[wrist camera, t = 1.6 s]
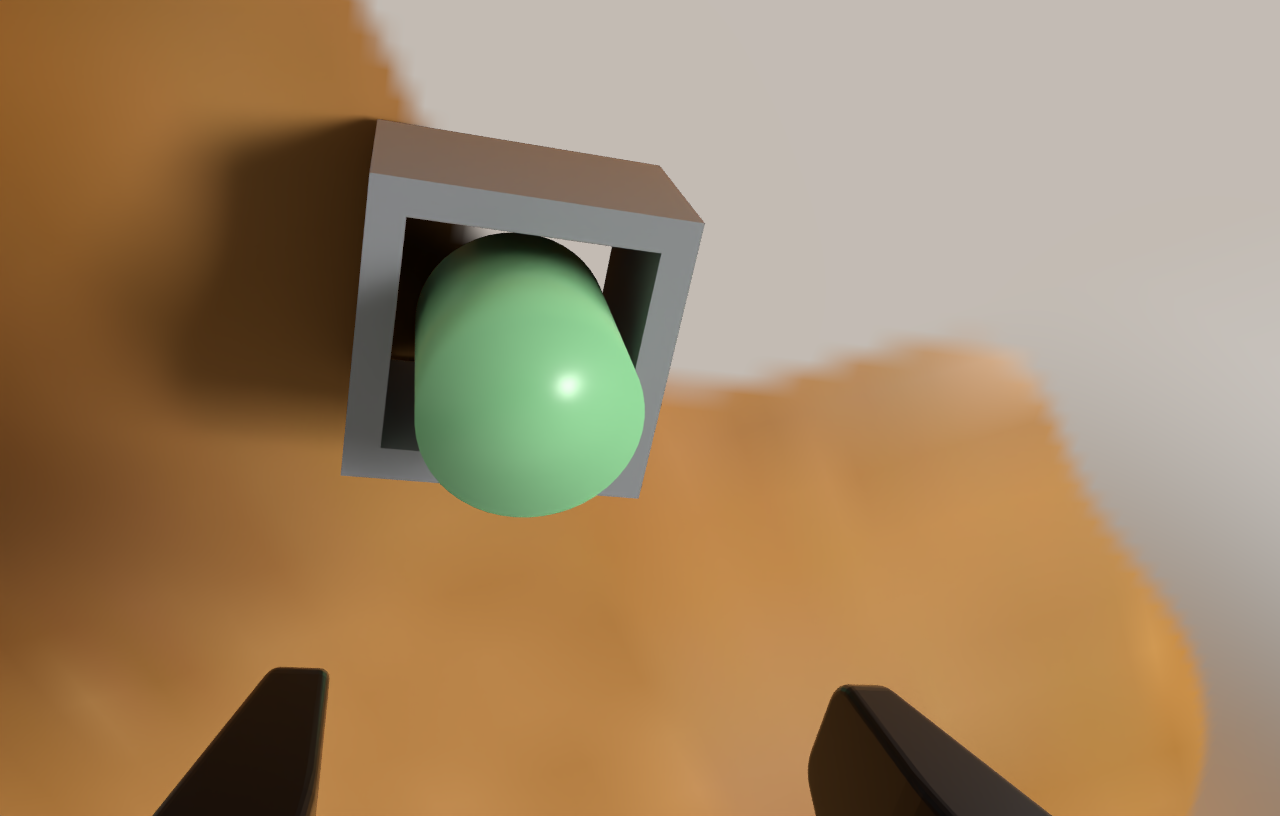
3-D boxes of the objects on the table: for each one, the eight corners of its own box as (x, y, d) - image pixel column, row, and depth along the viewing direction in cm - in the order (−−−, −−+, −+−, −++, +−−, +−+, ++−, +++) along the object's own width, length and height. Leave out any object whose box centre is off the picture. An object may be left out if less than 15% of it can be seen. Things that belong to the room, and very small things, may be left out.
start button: (588, 416, 16) (620, 524, 14) (404, 398, 15) (402, 509, 13) (623, 246, 15) (665, 329, 12) (426, 219, 14) (429, 300, 12)
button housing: (606, 407, 18) (638, 498, 16) (351, 382, 17) (340, 475, 15) (659, 165, 17) (705, 223, 14) (377, 119, 15) (369, 172, 13)
